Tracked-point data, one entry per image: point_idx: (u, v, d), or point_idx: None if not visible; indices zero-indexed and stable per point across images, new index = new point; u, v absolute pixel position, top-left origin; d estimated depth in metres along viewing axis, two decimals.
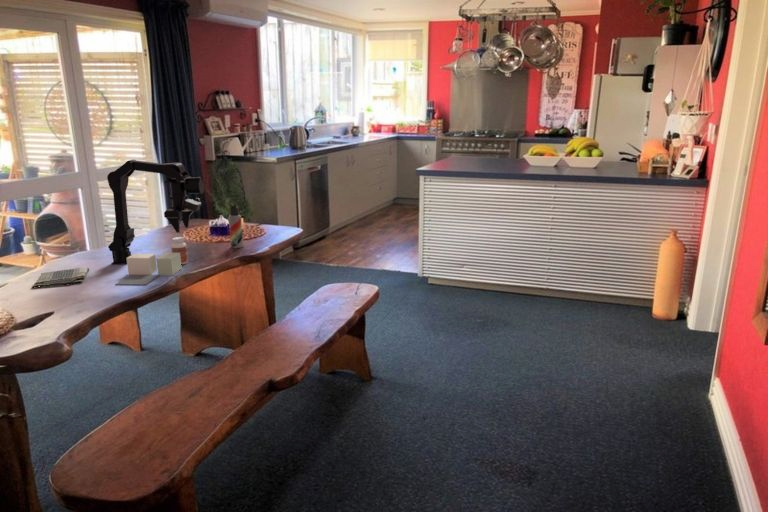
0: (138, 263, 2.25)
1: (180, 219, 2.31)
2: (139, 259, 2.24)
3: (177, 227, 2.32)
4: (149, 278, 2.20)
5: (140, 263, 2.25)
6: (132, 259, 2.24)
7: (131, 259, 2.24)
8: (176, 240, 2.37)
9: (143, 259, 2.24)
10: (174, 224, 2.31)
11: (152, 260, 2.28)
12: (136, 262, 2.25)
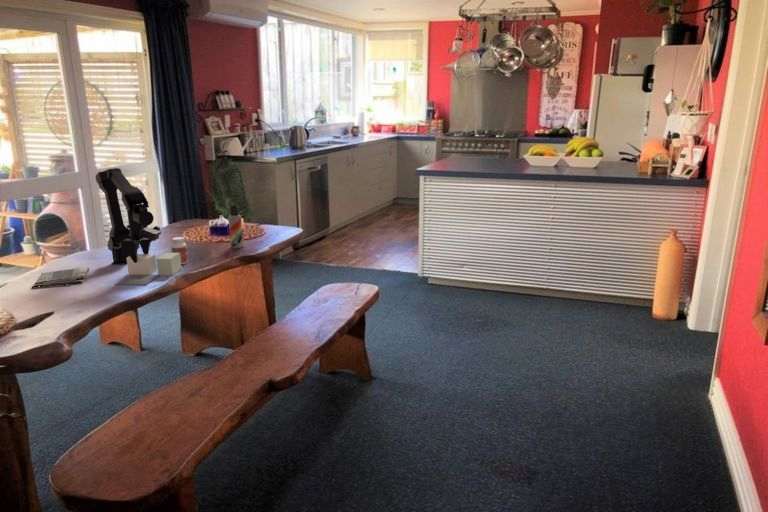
0: (138, 263, 2.25)
1: (137, 249, 2.21)
2: (139, 259, 2.24)
3: (134, 257, 2.22)
4: (149, 278, 2.20)
5: (140, 263, 2.25)
6: None
7: (131, 259, 2.24)
8: (176, 240, 2.37)
9: (143, 259, 2.24)
10: (131, 254, 2.21)
11: (152, 260, 2.28)
12: None
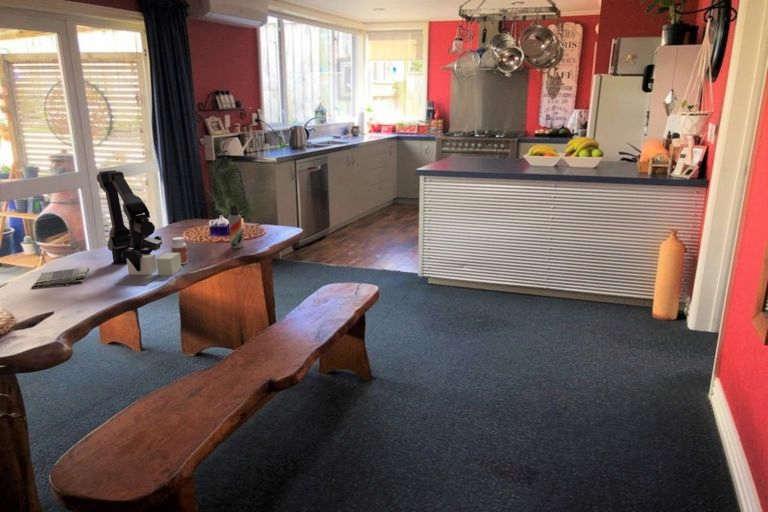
0: None
1: None
2: None
3: (138, 266, 2.24)
4: (149, 278, 2.20)
5: (140, 263, 2.25)
6: None
7: None
8: (176, 240, 2.37)
9: (143, 259, 2.24)
10: (134, 263, 2.23)
11: (152, 260, 2.27)
12: None
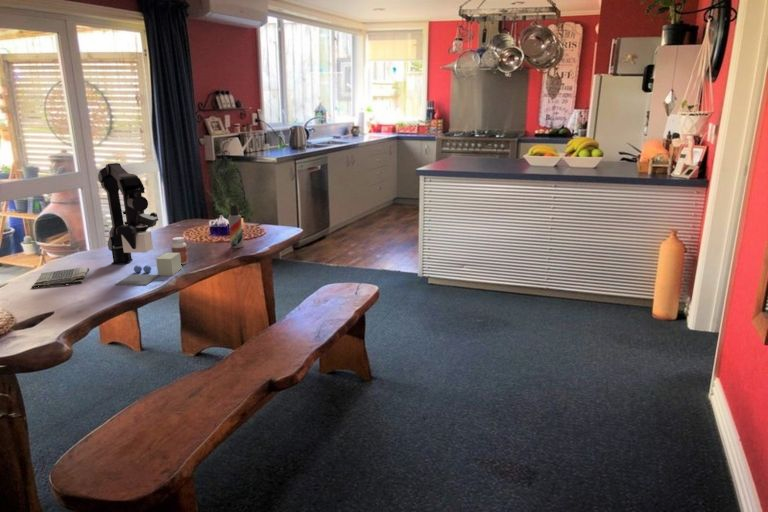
0: None
1: None
2: None
3: (133, 243, 2.17)
4: (149, 278, 2.20)
5: None
6: None
7: None
8: (176, 240, 2.37)
9: (139, 236, 2.17)
10: (129, 240, 2.16)
11: (148, 237, 2.21)
12: None
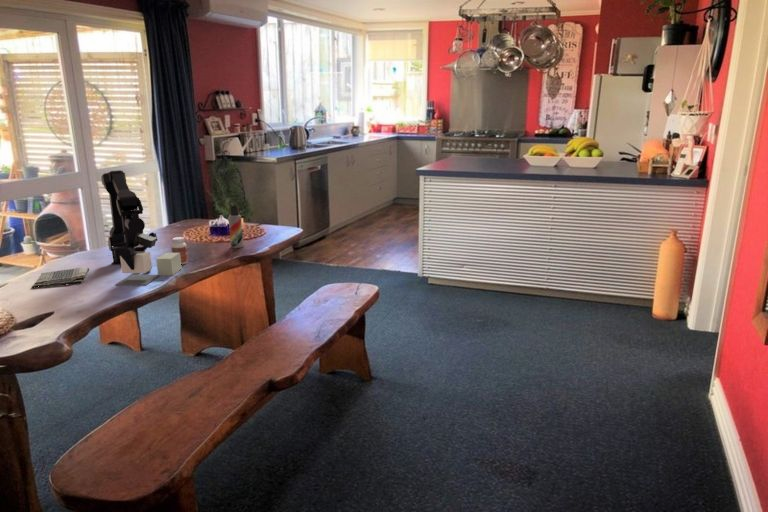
0: None
1: (134, 255, 2.13)
2: None
3: (131, 264, 2.13)
4: (149, 278, 2.20)
5: (134, 261, 2.14)
6: None
7: None
8: (176, 240, 2.37)
9: (137, 257, 2.13)
10: (128, 261, 2.13)
11: (147, 258, 2.17)
12: None
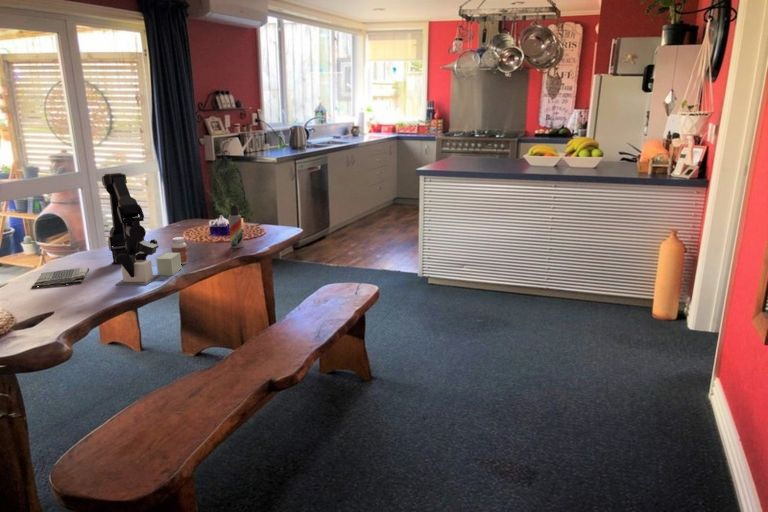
0: None
1: (134, 263, 2.13)
2: (134, 265, 2.14)
3: (131, 272, 2.13)
4: None
5: (135, 269, 2.15)
6: None
7: None
8: (176, 240, 2.37)
9: (138, 265, 2.14)
10: (128, 268, 2.13)
11: (148, 266, 2.18)
12: None
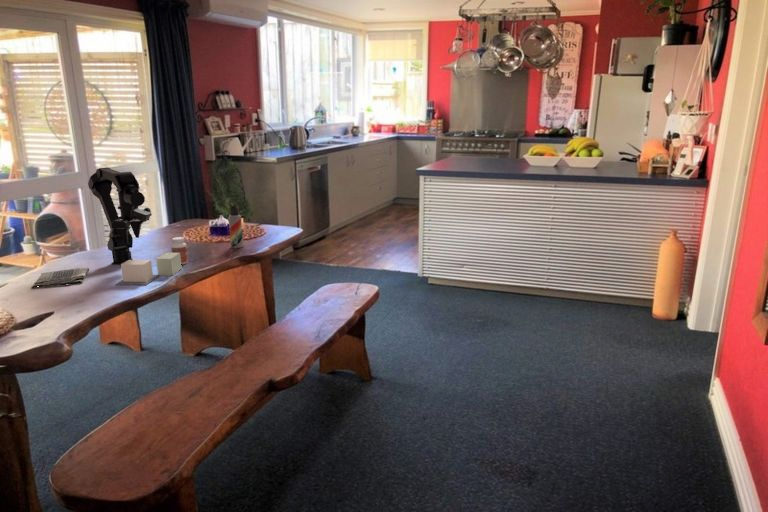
0: (133, 269, 2.15)
1: (128, 229, 2.25)
2: (134, 265, 2.14)
3: (125, 238, 2.26)
4: None
5: (135, 269, 2.15)
6: (127, 265, 2.15)
7: (126, 265, 2.15)
8: (176, 240, 2.37)
9: (138, 265, 2.14)
10: (122, 235, 2.25)
11: (148, 266, 2.18)
12: (131, 268, 2.15)
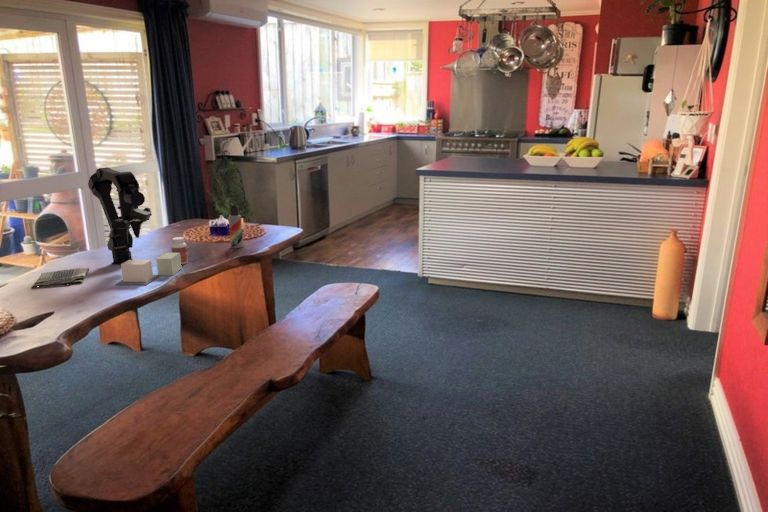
0: (133, 269, 2.15)
1: (128, 229, 2.25)
2: (134, 265, 2.14)
3: (125, 238, 2.26)
4: None
5: (135, 269, 2.15)
6: (127, 265, 2.15)
7: (126, 265, 2.15)
8: (176, 240, 2.37)
9: (138, 265, 2.14)
10: (122, 235, 2.25)
11: (148, 266, 2.18)
12: (131, 268, 2.15)
